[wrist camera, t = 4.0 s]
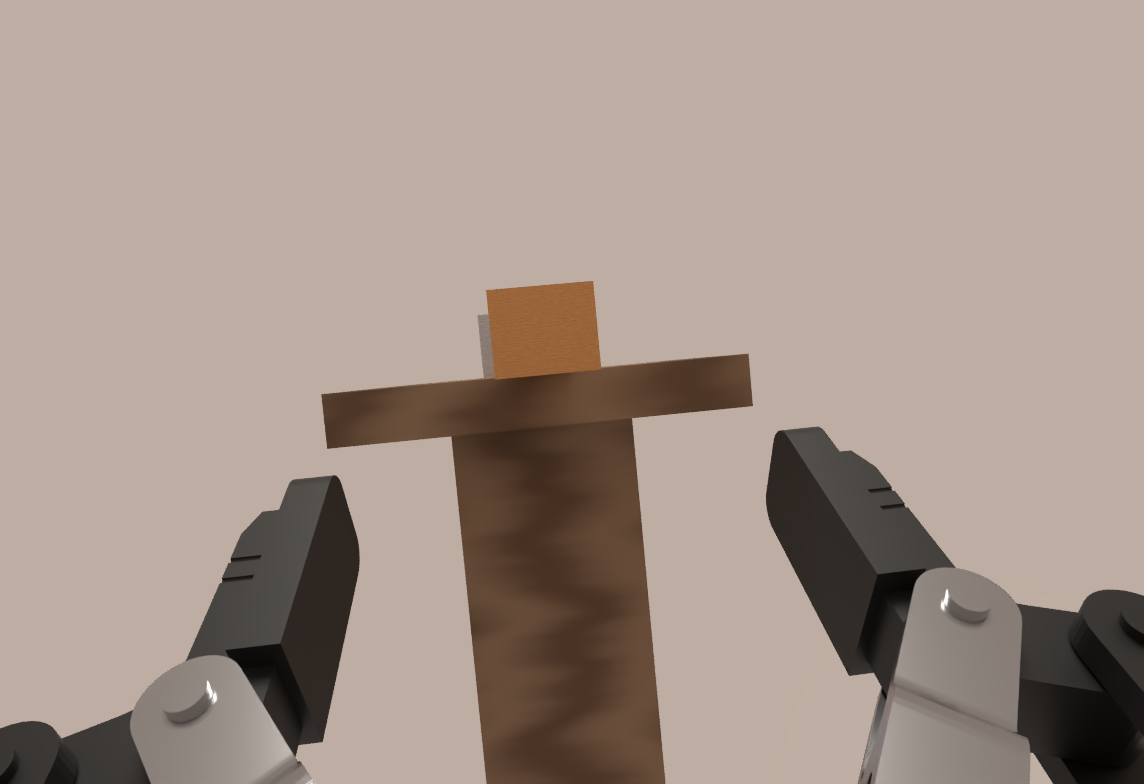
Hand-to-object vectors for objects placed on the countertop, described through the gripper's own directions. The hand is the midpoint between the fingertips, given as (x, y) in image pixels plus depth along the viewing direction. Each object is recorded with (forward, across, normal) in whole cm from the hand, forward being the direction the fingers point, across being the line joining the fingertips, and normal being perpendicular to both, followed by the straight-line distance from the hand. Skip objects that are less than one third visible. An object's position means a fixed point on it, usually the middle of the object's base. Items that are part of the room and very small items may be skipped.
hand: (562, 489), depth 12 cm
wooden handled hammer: (+13, 0, +5) cm, 14 cm away
